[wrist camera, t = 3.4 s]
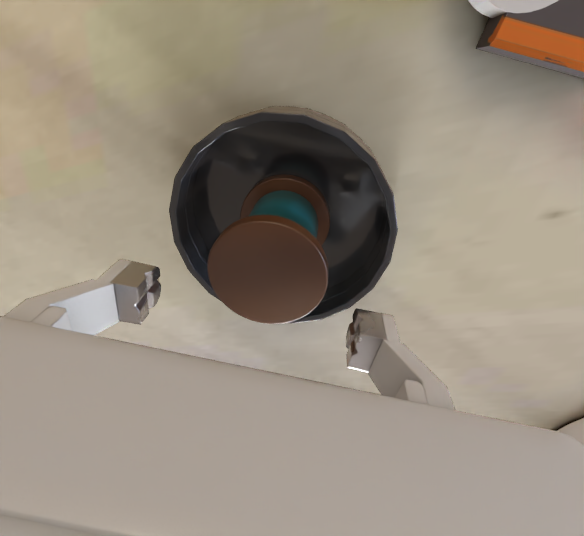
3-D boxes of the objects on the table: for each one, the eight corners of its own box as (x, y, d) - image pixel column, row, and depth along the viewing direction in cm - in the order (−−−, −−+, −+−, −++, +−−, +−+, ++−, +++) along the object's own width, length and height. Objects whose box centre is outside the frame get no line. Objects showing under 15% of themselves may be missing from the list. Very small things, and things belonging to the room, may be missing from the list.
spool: (346, 232, 21) (350, 297, 15) (275, 268, 23) (254, 338, 17) (298, 155, 19) (282, 196, 13) (225, 203, 21) (182, 258, 15)
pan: (421, 246, 21) (433, 272, 19) (265, 317, 26) (257, 346, 23) (320, 51, 16) (318, 48, 14) (151, 183, 21) (124, 200, 18)
